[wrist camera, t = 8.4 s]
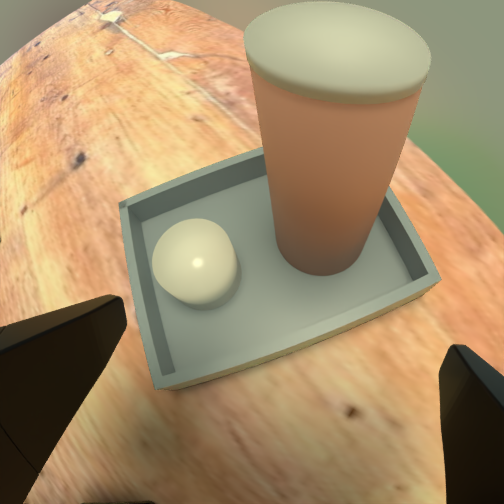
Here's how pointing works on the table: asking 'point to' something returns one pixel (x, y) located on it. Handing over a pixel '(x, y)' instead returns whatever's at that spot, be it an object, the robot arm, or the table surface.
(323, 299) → the grey shallow tray
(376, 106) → the coffee tin
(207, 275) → the cream dome ball
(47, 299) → the table surface
